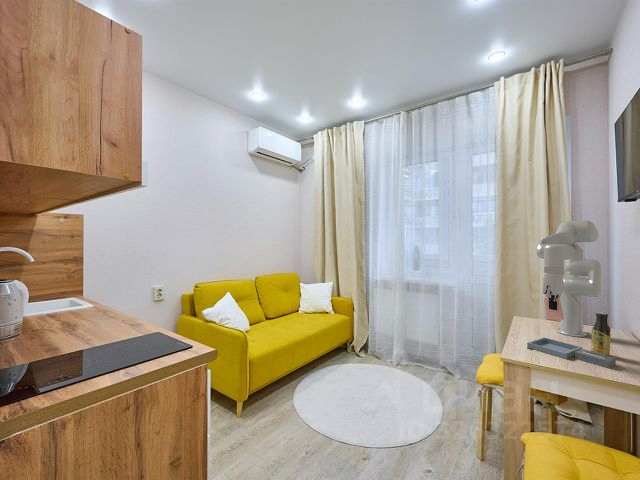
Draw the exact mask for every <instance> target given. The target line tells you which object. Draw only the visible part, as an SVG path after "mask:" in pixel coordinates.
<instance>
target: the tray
mask: <svg viewBox="0 0 640 480" xmlns="http://www.w3.org/2000/svg"><path fill="white" fill-rule="evenodd" d="M526 345H527V348H526V349H527V350H530V351H537V352H539V353H544V354H547V355H551V356H553V357H556V358H560V359H564V360H568V359H570V358H573V357H575V352H576V351H579V350H581V349H583V347H582V346H580V345H579V346H578V345H575V344H572V343H567V342H564V341H559V340H556V339H551V338H547V337H545V336H543V337H541V338H538V339H533V340H532V341H528V342H526Z"/></svg>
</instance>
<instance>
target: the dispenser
mask: <svg viewBox="0 0 640 480" xmlns="http://www.w3.org/2000/svg"><path fill="white" fill-rule="evenodd" d="M574 360H578V361H582V362H584V363H588V364H592V365H594V366H595V365H596V366H597V367H602V368H604V369H611V368H613V367H615V366H616V365H617V364H616V363H617V358H616V357H615V356H610V355H609V356H607V355H603V354H599V353H596V352H592V351H591V350H588V349H584V348H582V349H581V350H579V351H576V352H575V356H574Z"/></svg>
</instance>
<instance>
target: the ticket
mask: <svg viewBox="0 0 640 480" xmlns="http://www.w3.org/2000/svg"><path fill="white" fill-rule="evenodd" d="M543 301H544V306H545V311H546V316H547V320H560V321H561V320H564V316H563V311H562V306H561V300H560V298H556V302H557V310H552V309H549V301H548V298H547V297H543Z"/></svg>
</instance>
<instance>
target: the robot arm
mask: <svg viewBox="0 0 640 480" xmlns="http://www.w3.org/2000/svg"><path fill="white" fill-rule="evenodd" d="M598 239H599V231H598V229H597V226H596V225H595V224H594V223H593V221H591V220H567V221H564V222H563V221H562V223H560V224H559V225H558V227H557V229H556V231H555V233H552V234H550V235H549V236H545V237H543V238H542V239H541V240H540V241H539V243H538V244H537V247H536V250H535V251H536V256H537V257H538V258H539V259H540V260H543V279H542V280H543V281H542V293H543V295H546V297H545V298H548V301H549V309H552V310H557V302H556V298H560V301H561V306H562V311H563V316H564V320H560V327H559V328H557V333H559V334H561V335H565V336H570V337H577V338H583V337H584V338H585V337H586V336H587V333H586V332H585V331H583V330H584V327H585V326H584V325H583V324H584V321H583V320H584V318H583V317H584V307H583V306H584V304H583V301H582V300H581V299H580V298H579V297H578V296H583V297H591V298H592V297H593V298H596V297H598V296H600V294H601V288H602V266H601V263H600V261H598V259H597V260H596V259H588V258H584V249H583V248H582V247H581V245H579V244H578V243H594V242H597V241H598ZM564 275H567V276H566V277H564ZM568 275H569V276H570V277H569V276H568ZM572 276H573V277H572ZM575 276H577V277H575ZM579 276H580V277H579ZM583 277H588V278H583Z"/></svg>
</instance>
